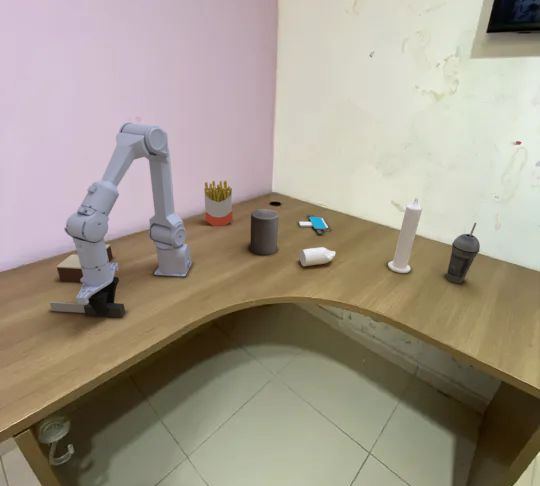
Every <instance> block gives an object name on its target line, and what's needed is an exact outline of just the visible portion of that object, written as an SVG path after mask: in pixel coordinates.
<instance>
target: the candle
mask: <svg viewBox="0 0 540 486" xmlns="http://www.w3.org/2000/svg"><path fill="white" fill-rule="evenodd" d="M404 210H405V211H404V214H403V218H402V222H401V227H400V230H399V236H398V239H397V243H396V248H395V251H394V255H393V260H391V261H389V262H388V263H387V267H388V269H390V270H391V271H393V272H394V273H395V272H396V273H398V274H408V273H410V272H411V269H412V268H411V266H410V265H409V260H410V256H411V253H412V252H411V251H412V249H413V245H414V241H415V237H416V235H417V230H418V226H419V223H420V220H421V215H422V212H423V207H422V206H421V205H420V204H419V196H415V198H414V200H413V201H412V202H410V203H409V204H407V205H406V206H405V209H404Z"/></svg>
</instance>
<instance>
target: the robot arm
mask: <svg viewBox="0 0 540 486" xmlns="http://www.w3.org/2000/svg"><path fill="white" fill-rule="evenodd" d="M115 141H116V146H115V148H114V150H113V152H112V155H111V157H110V159H109V162H108V164H107V166H106V168H105V171H104V173H103V175H102V177H101V179H100V180H98V181H94V182H92V184H91V185H89V186H88V188H87V190H86V192H87V193H86V195H85V196H84V197H83V201H82V202H81V204H80V206H79V207H78V208H77V211H76V212H74V213H72V214H71V215H69V216H68V218H67V220H66V223H65V226H64V227H63V230H64V232H65V233H66V234H67V236H69V237H71V238H72V241H73V243H74V246H75V249H76V255H78V258H79V262H80V265H81V269H82V273H83V277H82V278H81V279H80V281H81V282H80V283H82V285H81V287H80V290H79V293H78V294H77V295H76V296H75V299H76V303H78V304H81V305H87V304H88V303H89V304H90V305H91V307H92V308H93V309H94V311H95V312H96V314H97V315H103V316H105V315H106V314H107V305H106V303H115V300H116V291H117V287H118V284H119V282H120V278H119V277H118V276H115V273H116V272H118V271H119V270H120V268H119V263H118V262H110V261H109V259H108V255H107V250H106V245H105V244H106V241H105V240H106V239H105V236H106V235H107V233H109V220H110V217H109V215H110V214H111V211H112V210H113V208H114V207H115V204H116V202H117V200H118V198H119V196H120V193H119V190H118V186H119V184H120V183H121V181H122V180H123V178H124V177H125V175H126V173H127V172H128V170H129V169H130V167H131V165H132V163H133V162H134V161H135V160H137V159H142V158H145V159H146V160H148V165H149V173H150V182H151V184H150V185H151V191H152V200H153V202H152V203H153V210H154V215H152V217H151V218H149V226H148V233H147V234H148V237H149V239H150V240H151V241H153V245H155V248H156V255H157V264H158V267H157V269H156V270H155V271H154V275H155V276H167V277H181V278H182V277H184V278H185V277H186V276H187V274H188V272H189V270H190V268H191V267H192V264H193V263H192V256H191V246H190V245H189V244H187V243H185V242H186V238H187V230H186V228H185V225H184V221H183V219H182V218H181V217H180V216H179V215H177V214H176V212H175V200H174V188H173V175H172V164H171V153H170V152H171V151H170V149H169V140H168V133H167V132H166V131H165V130H164V129H163V128H161V127H160V126H159V125H149V124H139V123H133V122H124V123H123V124H122V125H121V126H120V128H119V131H118V133H117V134H116V135H115Z"/></svg>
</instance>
